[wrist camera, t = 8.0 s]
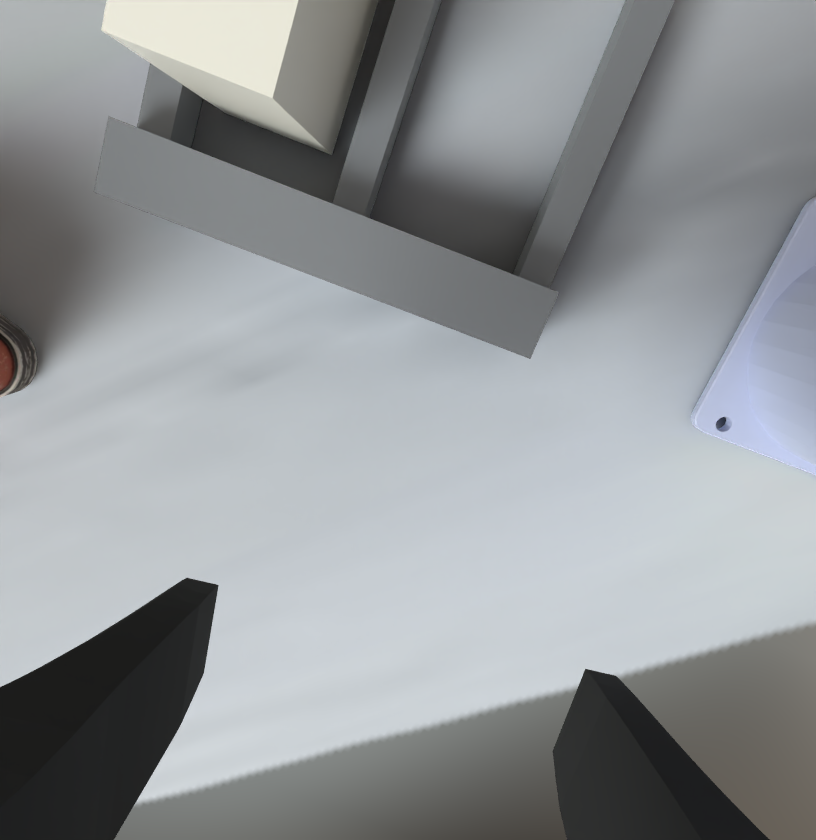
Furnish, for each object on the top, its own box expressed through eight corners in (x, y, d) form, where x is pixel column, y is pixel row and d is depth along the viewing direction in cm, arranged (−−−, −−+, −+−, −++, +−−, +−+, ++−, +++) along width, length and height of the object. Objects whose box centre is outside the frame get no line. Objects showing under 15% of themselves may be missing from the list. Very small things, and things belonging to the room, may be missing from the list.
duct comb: (662, 3, 16) (710, -50, 14) (515, 342, 19) (530, 358, 17) (231, -183, 16) (185, -280, 13) (146, 201, 19) (93, 192, 16)
